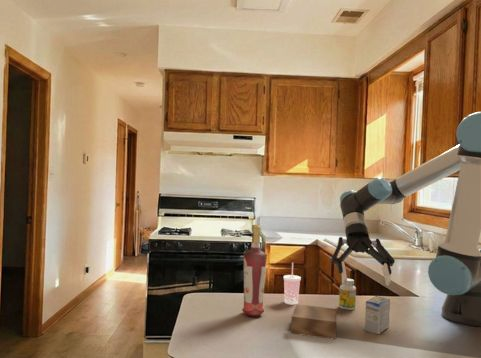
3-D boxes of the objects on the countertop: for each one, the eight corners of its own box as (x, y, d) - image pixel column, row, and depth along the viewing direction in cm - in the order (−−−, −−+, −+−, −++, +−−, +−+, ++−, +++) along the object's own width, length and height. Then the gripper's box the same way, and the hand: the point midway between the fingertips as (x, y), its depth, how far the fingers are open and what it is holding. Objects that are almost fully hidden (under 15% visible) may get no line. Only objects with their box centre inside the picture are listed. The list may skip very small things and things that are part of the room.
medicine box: (374, 324, 123) (375, 295, 123) (389, 327, 120) (390, 298, 120) (364, 330, 117) (365, 300, 117) (379, 334, 114) (380, 304, 114)
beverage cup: (299, 305, 138) (301, 264, 139) (281, 304, 140) (283, 263, 140) (300, 301, 144) (302, 261, 145) (283, 299, 146) (284, 260, 146)
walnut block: (336, 325, 121) (336, 308, 121) (335, 340, 110) (336, 321, 110) (295, 320, 124) (296, 304, 124) (291, 334, 113) (291, 316, 113)
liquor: (266, 318, 124) (270, 226, 125) (243, 318, 123) (247, 226, 123) (261, 310, 131) (265, 224, 132) (239, 311, 130) (243, 223, 131)
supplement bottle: (358, 309, 137) (359, 280, 137) (346, 310, 135) (347, 282, 135) (348, 304, 142) (349, 277, 142) (335, 306, 140) (336, 278, 140)
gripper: (388, 236, 144) (403, 290, 129) (318, 233, 144) (324, 287, 129) (394, 223, 139) (410, 278, 124) (321, 220, 139) (328, 274, 124)
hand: (366, 282), depth 127 cm, fingers open, 13 cm apart
